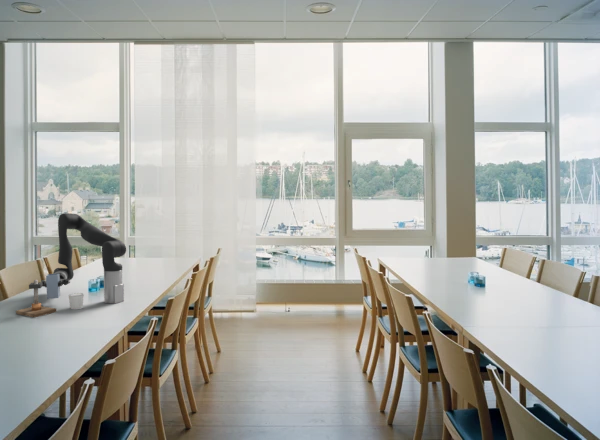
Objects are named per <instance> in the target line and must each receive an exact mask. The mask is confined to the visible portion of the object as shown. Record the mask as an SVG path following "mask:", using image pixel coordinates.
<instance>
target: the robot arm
mask: <svg viewBox="0 0 600 440" xmlns="http://www.w3.org/2000/svg"><path fill="white" fill-rule="evenodd" d="M57 229H58V230H57V231H58V242H59V243H58V244H59V245H58V258H57V262H58V264H59V265H63V266H65V267H57V268H55V269H54V270H53V273H52V274H60V281H59V282H58V287H60V288H61V287H62V286H66V285H68V284H69V285H70V283H71V280H72V279H73V278H74V275H75V273H74V268H73V261H72V260H73V259H72V258H73V246H72V245H71V243H70V240H69V238H68V233H67V232H68V230H76V231H79V232H80V237H81V238H82V239H83V240H84V241H85V242H88V243H89V244H91V245H94V246H98V247H101V259H102V260H101V261H102V266H103V267H102V268H103V298H104V300H103V302H104V303H105V304H118V303H122V302H124V301H125V288H124V287H125V284H124V283H123V264H121V263H118V262H115V258H121V257H123V256H125V254H126V252H127V247H126V244H125V243H124V242H123V241H122V240H120V239H117V238H115V237H113V236H111V235H110V234H108V233H106V232H104V231H102V230H101V229H100V228H98V227H97V226H95V225H92V224H91V223H90V222H88V221H87V220H86V219H84V218H83V217H82V216H81V215H79V214H78V213H67V212H65V213H60V215H59V217H58V220H57ZM40 282H43V286H42V287H43V288H46V289H47V284H46V280H44V279H41V281H40Z"/></svg>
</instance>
